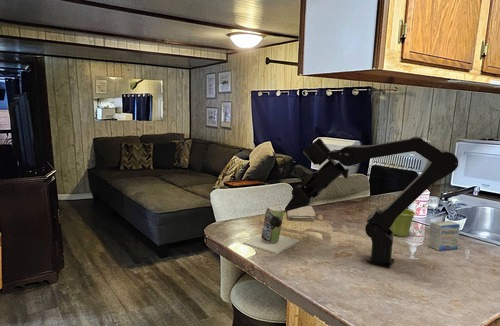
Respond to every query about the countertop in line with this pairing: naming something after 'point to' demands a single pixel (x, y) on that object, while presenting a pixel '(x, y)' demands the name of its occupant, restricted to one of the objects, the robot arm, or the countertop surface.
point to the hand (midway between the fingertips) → (289, 206)
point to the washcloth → (302, 214)
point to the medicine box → (444, 235)
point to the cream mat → (271, 244)
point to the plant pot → (403, 223)
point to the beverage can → (272, 224)
